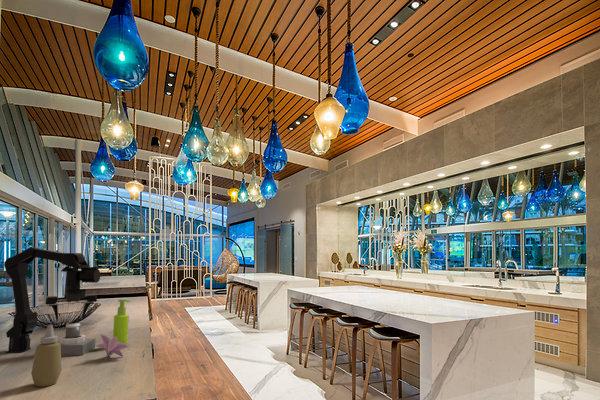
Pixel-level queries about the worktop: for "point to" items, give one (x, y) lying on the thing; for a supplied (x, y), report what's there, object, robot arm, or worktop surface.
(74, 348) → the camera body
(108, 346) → the lily
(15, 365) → the worktop surface
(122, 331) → the soap dispenser
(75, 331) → the grey block
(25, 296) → the robot arm
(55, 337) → the squeeze bottle
